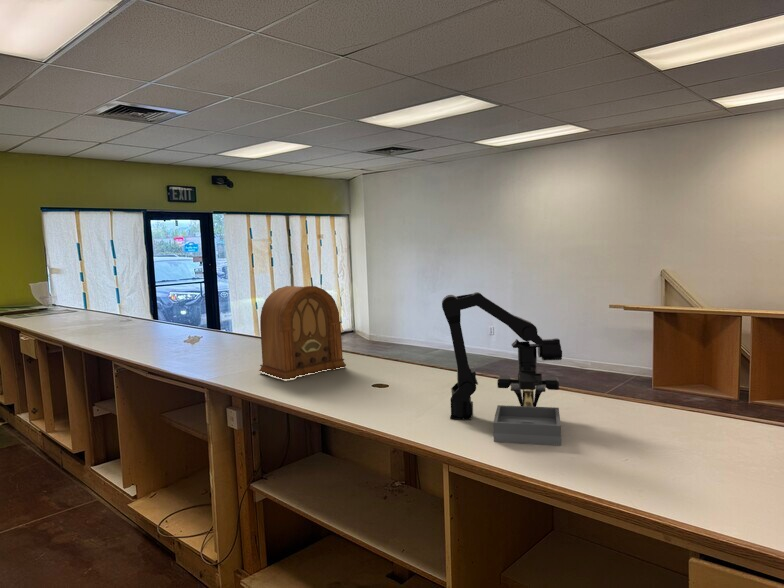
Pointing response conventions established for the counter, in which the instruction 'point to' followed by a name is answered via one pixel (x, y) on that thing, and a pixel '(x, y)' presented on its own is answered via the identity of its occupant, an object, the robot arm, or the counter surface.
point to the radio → (300, 332)
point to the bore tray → (527, 425)
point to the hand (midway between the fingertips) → (528, 408)
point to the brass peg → (528, 397)
